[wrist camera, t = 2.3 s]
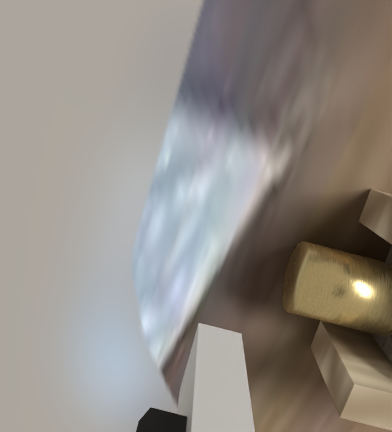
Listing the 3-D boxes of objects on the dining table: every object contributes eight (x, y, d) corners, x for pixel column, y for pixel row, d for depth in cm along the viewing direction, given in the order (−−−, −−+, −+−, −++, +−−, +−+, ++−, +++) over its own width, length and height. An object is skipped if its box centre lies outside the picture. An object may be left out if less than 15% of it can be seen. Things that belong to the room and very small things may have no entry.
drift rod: (300, 229, 24) (315, 262, 20) (387, 252, 24) (421, 289, 20) (278, 286, 26) (288, 327, 22) (360, 307, 26) (386, 352, 22)
